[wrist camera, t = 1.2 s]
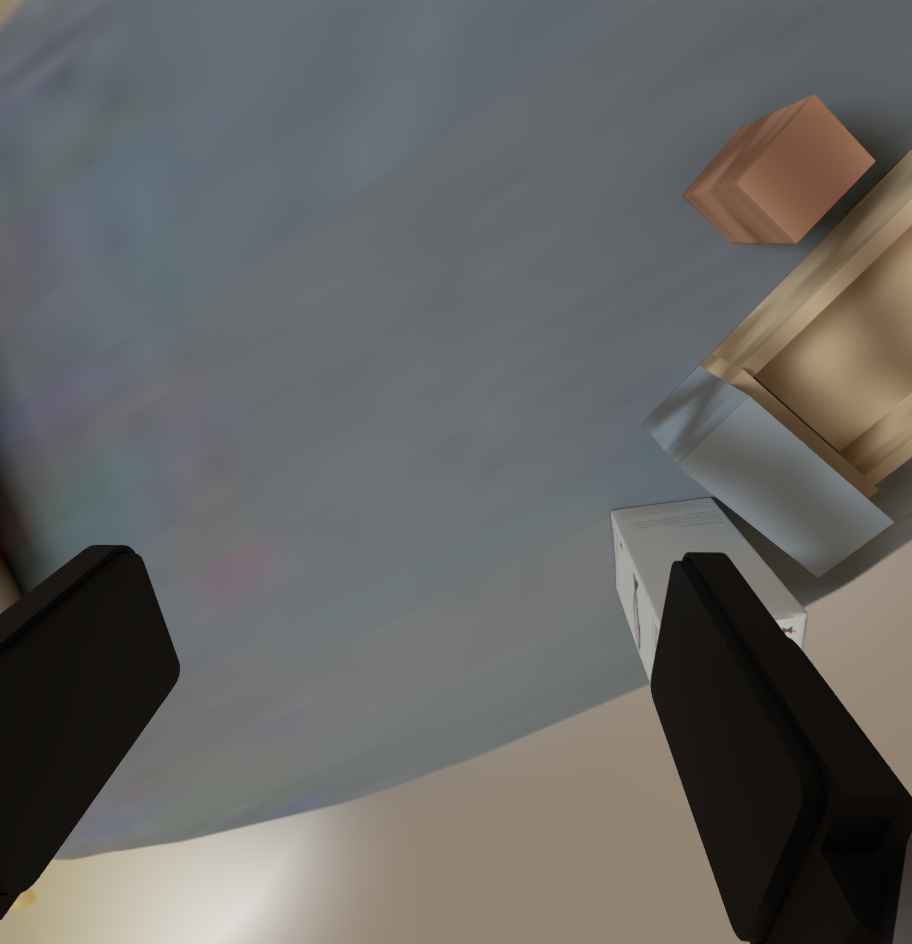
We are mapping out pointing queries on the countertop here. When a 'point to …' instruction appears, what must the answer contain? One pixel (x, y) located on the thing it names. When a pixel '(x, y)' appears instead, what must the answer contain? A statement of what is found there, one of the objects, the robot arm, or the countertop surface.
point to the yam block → (779, 175)
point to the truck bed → (811, 390)
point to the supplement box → (667, 540)
